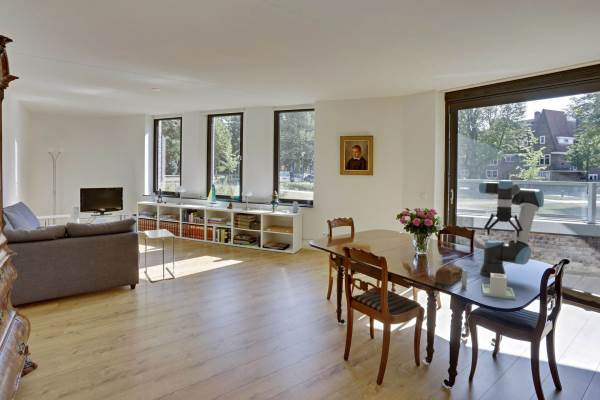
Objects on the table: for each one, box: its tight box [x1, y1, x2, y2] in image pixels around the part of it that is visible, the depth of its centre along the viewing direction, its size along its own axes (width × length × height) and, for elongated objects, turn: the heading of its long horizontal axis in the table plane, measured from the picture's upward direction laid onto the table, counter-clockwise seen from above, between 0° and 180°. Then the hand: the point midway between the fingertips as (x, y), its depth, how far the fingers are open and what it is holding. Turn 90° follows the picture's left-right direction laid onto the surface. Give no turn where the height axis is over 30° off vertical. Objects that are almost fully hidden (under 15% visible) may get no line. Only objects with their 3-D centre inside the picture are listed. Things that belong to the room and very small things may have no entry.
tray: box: [481, 283, 516, 301], centre depth 220 cm, size 16×16×2 cm
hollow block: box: [489, 273, 508, 295], centre depth 220 cm, size 8×8×10 cm
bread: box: [435, 264, 463, 286], centre depth 242 cm, size 19×11×10 cm, turn 136°
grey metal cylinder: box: [460, 269, 468, 291], centre depth 227 cm, size 4×4×12 cm
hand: (502, 241), depth 227 cm, fingers open, 13 cm apart
